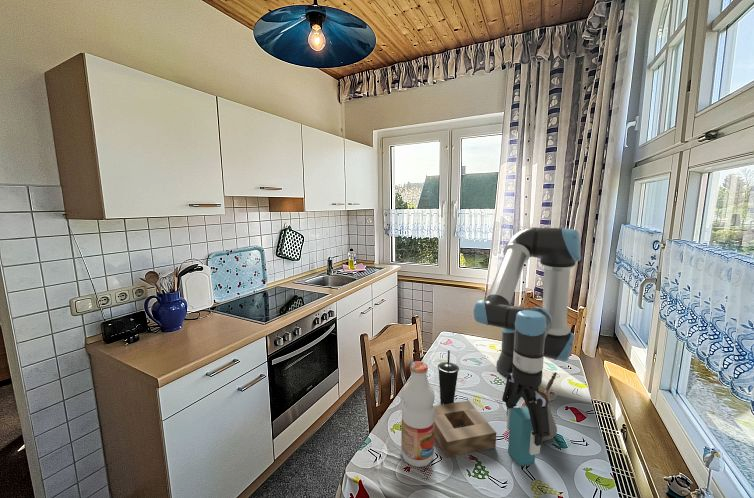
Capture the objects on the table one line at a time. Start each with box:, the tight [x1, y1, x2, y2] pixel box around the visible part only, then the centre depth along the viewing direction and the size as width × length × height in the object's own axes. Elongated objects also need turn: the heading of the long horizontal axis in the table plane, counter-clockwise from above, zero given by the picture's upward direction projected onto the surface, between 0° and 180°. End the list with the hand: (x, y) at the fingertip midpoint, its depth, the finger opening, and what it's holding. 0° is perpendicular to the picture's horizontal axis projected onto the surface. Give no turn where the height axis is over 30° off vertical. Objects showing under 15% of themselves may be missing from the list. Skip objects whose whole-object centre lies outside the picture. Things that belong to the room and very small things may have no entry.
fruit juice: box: [400, 360, 435, 468], centre depth 89 cm, size 9×9×28 cm
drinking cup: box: [437, 350, 460, 405], centre depth 114 cm, size 8×8×20 cm
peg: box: [507, 405, 536, 467], centre depth 89 cm, size 5×5×14 cm
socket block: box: [433, 400, 497, 458], centre depth 99 cm, size 16×16×5 cm
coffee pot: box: [523, 371, 560, 442], centre depth 102 cm, size 21×12×15 cm, turn 132°
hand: (522, 440), depth 89 cm, fingers open, 9 cm apart
